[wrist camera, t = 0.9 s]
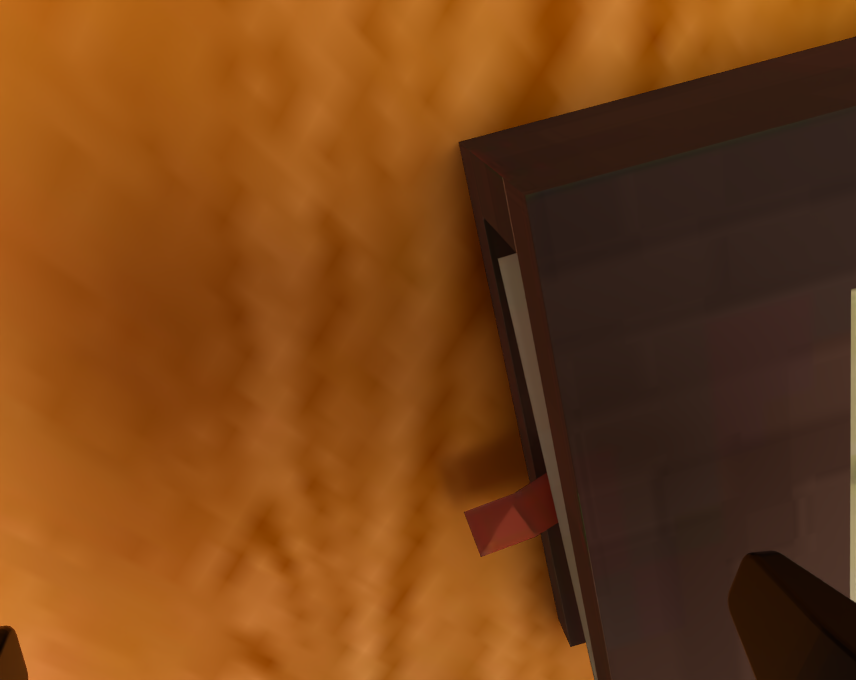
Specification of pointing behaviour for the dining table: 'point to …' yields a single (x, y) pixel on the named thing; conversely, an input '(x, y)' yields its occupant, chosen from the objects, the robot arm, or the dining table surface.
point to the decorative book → (678, 350)
